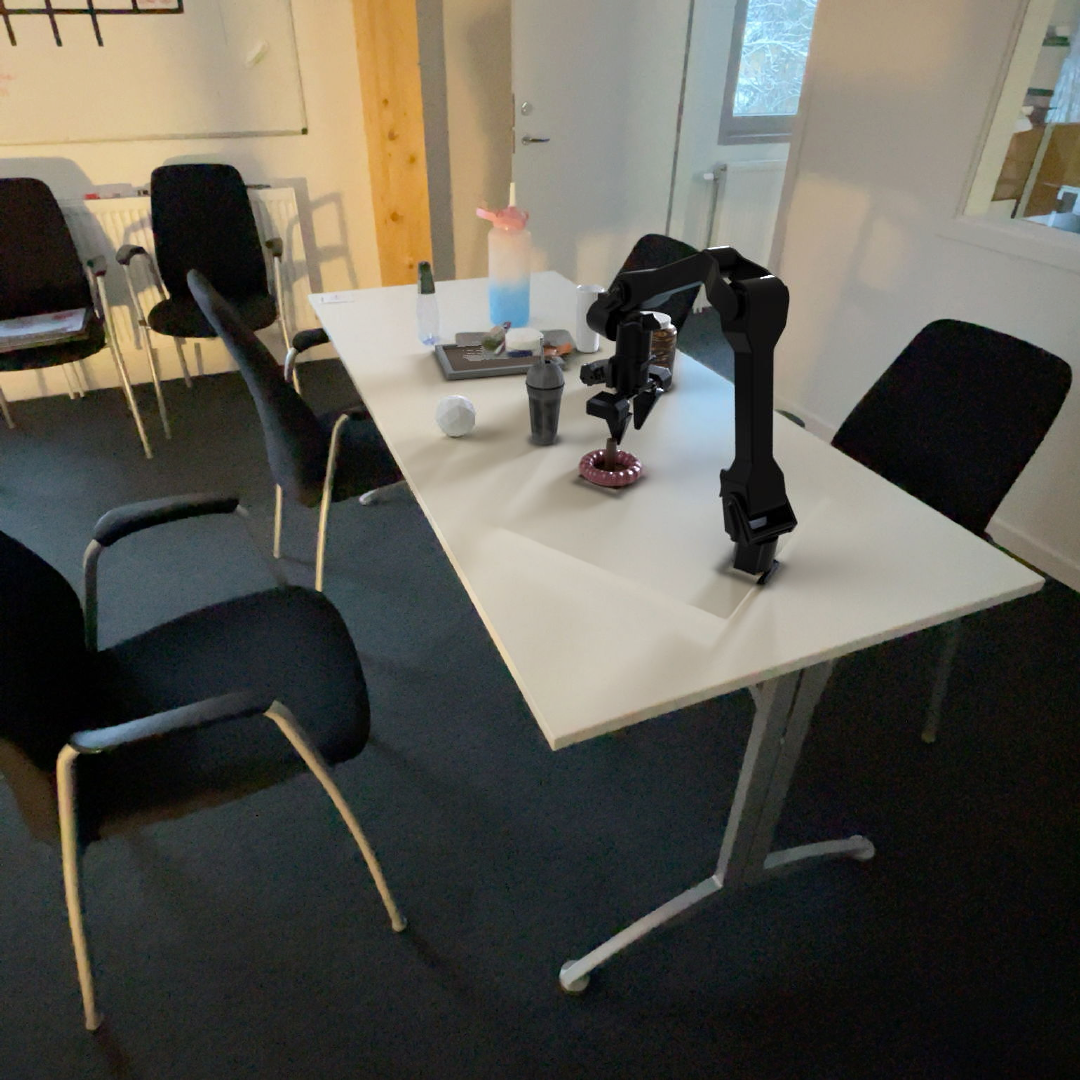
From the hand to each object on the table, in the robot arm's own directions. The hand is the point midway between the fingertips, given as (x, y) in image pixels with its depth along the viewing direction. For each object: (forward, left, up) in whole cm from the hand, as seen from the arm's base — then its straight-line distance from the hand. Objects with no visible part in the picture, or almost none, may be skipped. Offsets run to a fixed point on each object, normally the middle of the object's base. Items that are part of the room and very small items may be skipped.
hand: (627, 436), depth 129 cm
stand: (-5, 0, -6) cm, 8 cm away
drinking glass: (+48, +38, -6) cm, 61 cm away
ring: (-5, 0, -4) cm, 6 cm away
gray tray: (+30, +50, -6) cm, 58 cm away
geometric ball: (-7, +33, -6) cm, 34 cm away
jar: (+37, +16, -6) cm, 41 cm away
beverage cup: (+1, +18, -6) cm, 19 cm away
